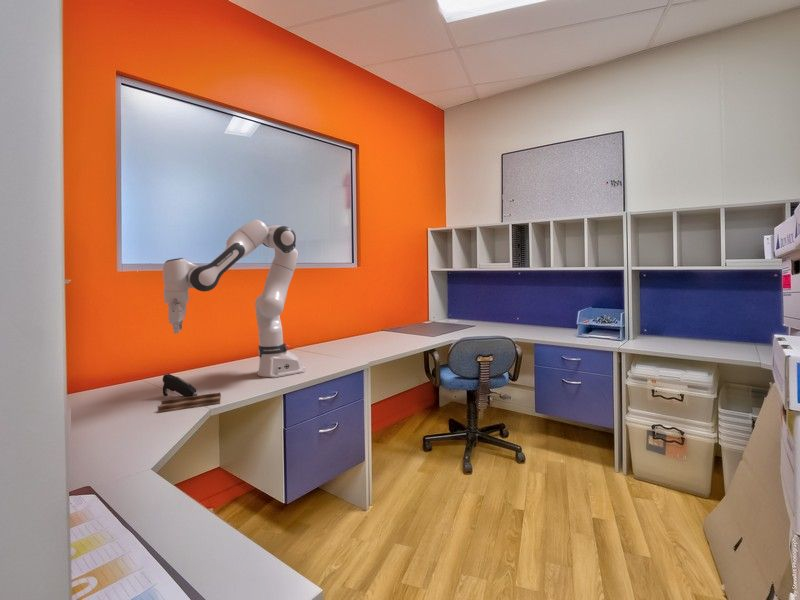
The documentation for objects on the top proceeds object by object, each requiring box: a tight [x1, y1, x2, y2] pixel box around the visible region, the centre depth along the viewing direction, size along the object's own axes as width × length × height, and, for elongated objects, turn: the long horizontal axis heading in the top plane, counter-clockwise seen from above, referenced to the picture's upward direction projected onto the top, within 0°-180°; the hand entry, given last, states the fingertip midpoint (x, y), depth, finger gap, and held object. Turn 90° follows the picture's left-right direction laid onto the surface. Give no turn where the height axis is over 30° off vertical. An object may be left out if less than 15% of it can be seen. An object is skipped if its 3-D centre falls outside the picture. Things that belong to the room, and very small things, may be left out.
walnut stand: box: [157, 392, 222, 414], centre depth 152 cm, size 21×10×2 cm, turn 112°
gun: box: [162, 373, 198, 398], centre depth 161 cm, size 3×16×10 cm, turn 78°
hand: (178, 331), depth 162 cm, fingers open, 8 cm apart
